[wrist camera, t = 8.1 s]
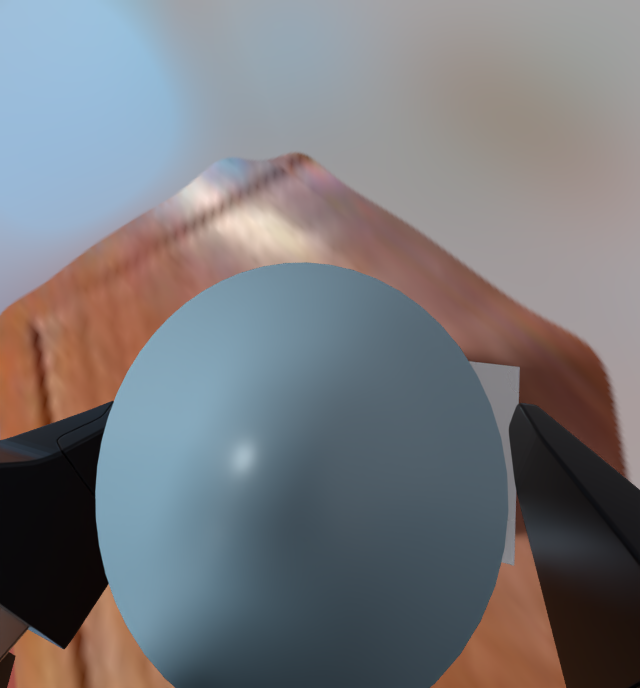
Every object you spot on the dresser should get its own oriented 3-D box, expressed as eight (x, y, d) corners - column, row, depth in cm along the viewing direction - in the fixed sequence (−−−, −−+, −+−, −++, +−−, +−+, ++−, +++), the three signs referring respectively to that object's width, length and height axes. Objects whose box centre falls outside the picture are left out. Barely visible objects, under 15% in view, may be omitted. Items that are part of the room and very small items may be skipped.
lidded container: (414, 496, 15) (496, 868, 2) (315, 472, 16) (41, 620, 4) (424, 392, 16) (516, 269, 3) (331, 378, 17) (160, 258, 5)
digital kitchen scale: (494, 541, 16) (524, 578, 12) (260, 479, 20) (226, 492, 16) (500, 376, 18) (529, 362, 14) (287, 349, 22) (262, 333, 18)
